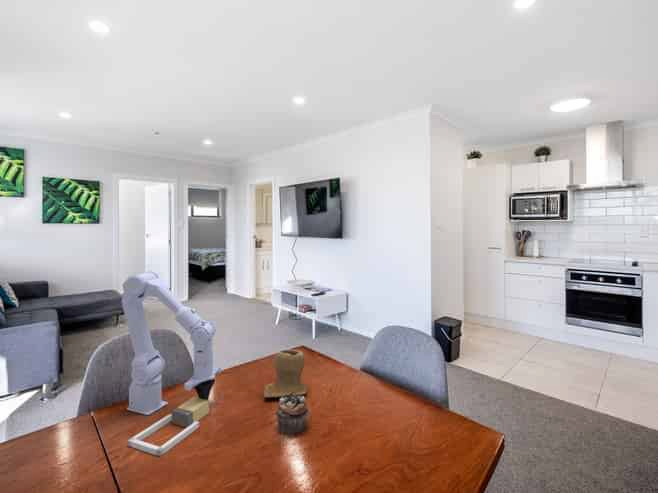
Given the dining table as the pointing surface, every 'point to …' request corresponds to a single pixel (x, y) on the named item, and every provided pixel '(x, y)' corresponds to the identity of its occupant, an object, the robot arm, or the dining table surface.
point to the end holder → (159, 451)
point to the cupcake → (292, 414)
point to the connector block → (190, 412)
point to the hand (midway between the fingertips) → (203, 402)
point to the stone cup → (287, 374)
